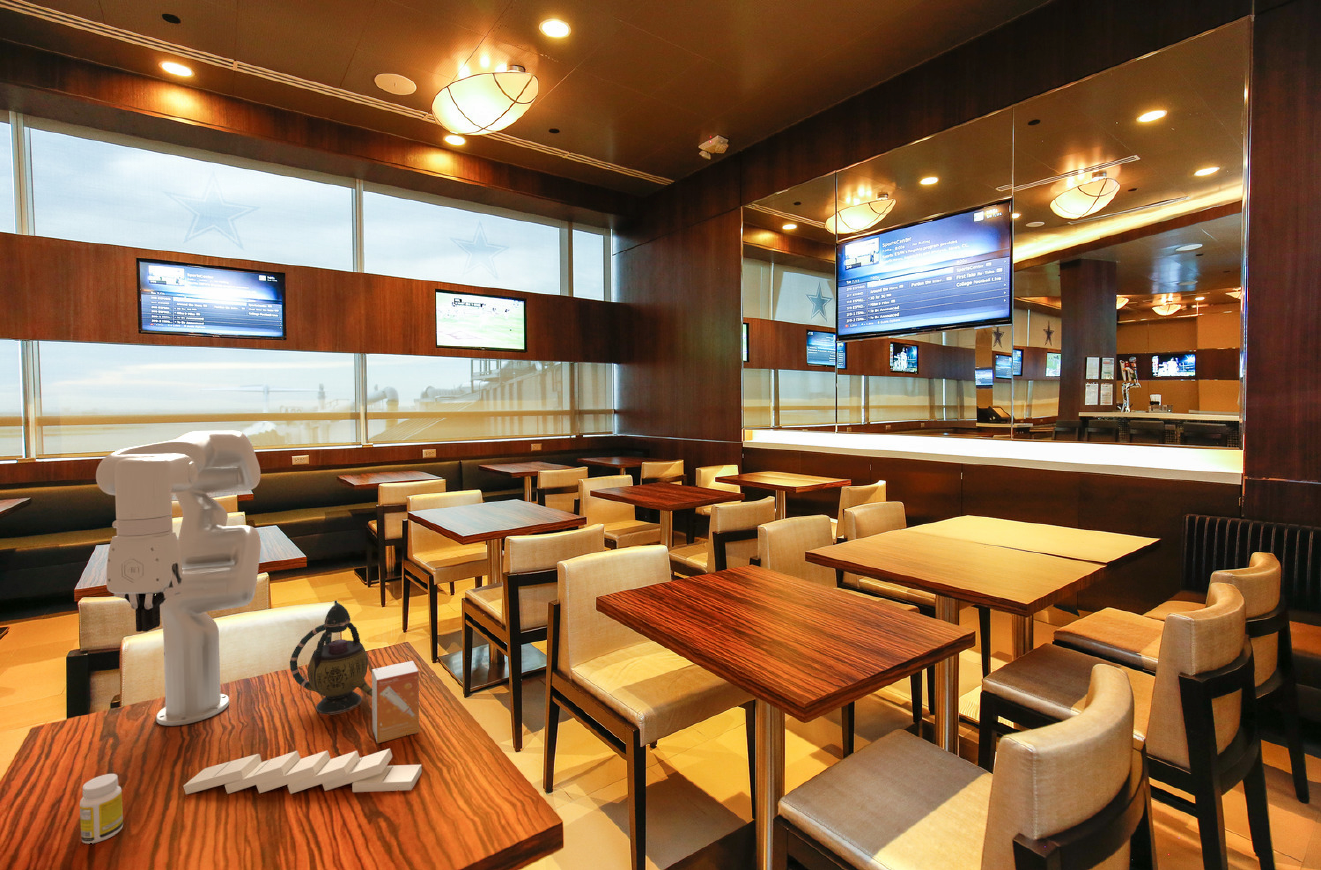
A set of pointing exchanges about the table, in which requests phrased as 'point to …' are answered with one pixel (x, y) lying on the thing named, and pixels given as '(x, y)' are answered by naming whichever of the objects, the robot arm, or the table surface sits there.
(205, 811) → the table surface
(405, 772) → the domino
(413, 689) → the small box
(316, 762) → the domino
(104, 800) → the supplement bottle
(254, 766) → the domino
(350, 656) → the teapot
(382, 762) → the domino
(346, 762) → the domino
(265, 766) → the domino
